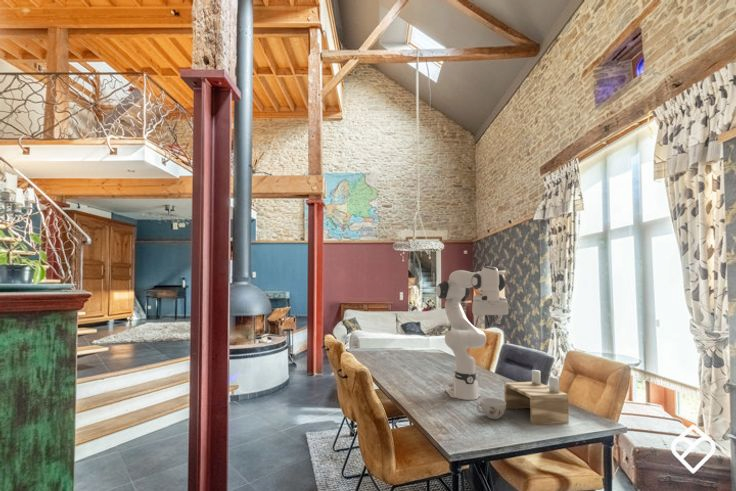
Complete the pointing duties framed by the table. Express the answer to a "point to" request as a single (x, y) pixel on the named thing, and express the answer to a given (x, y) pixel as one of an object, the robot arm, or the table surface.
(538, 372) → the rounded upright piece
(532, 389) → the wooden bridge shelf
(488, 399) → the teacup
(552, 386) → the grey upright piece
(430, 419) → the table surface
